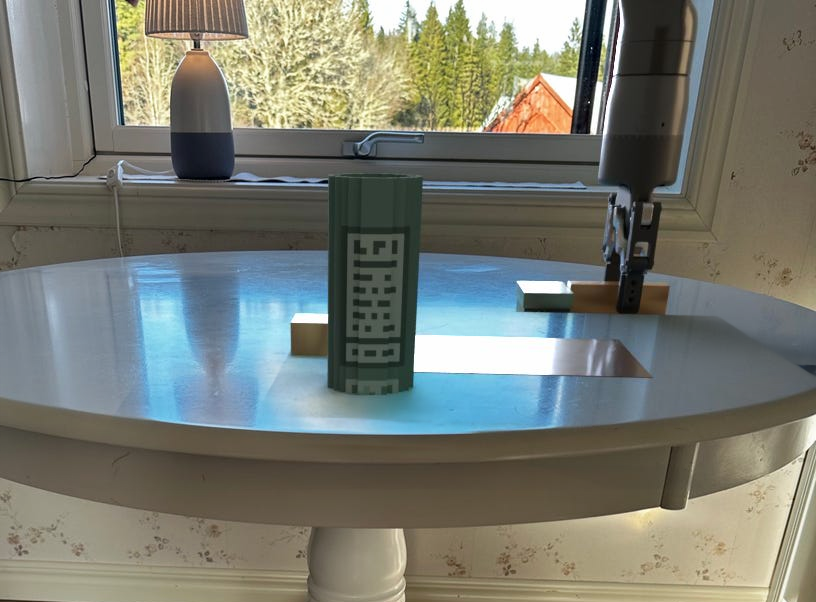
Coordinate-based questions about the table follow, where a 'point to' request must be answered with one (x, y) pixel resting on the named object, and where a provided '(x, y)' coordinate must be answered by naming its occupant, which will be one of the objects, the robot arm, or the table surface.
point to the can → (373, 281)
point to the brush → (586, 297)
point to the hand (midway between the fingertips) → (618, 306)
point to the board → (525, 356)
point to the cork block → (309, 335)
